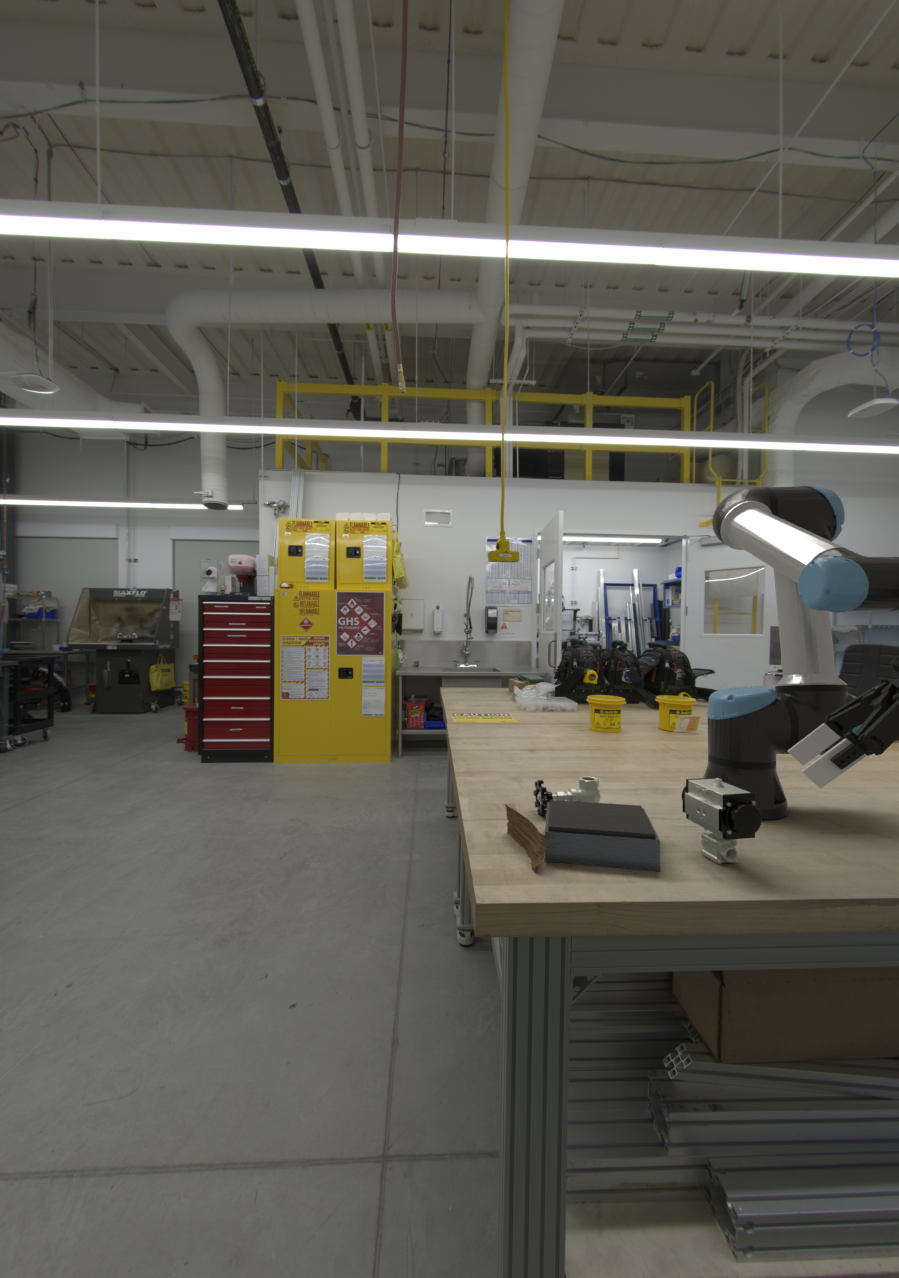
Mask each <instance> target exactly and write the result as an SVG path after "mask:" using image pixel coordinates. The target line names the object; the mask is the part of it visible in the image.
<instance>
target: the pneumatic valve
mask: <svg viewBox="0 0 899 1278" xmlns="http://www.w3.org/2000/svg"><path fill="white" fill-rule="evenodd" d="M681 800H682V812H683V813H685V816H686V817H685V818H686V819H687V820H689V821H691V822H692V823H693V824H694V823H695V824H696V825H698V826H699V827H701V828H703V829H704V831H709V832H710V833H707V832H702V833H701V839H700V843H701V846H702V848H703V849H701V854H702V856H703V857H706V858H707V859H709V860H710V861H712V862H714V864H717V865H721V864H723V863H732V864H735V863H738V858H739V857H738V856H739V851H738V850H737V847H736V846H738V842H737V841H738V840H742V839H743V840H745V839H755V838H756V833H757V832H758V831H759V830H760V828H761V825H762V819H761V814H760V812H759V810H758V809H757V808H756V807H755V804H756V802H755V794H753V793H750V792H748V791H745V790H742V789H740V788H737V787H735V786H732V785H730V784H727V783H724V782H722V779H720V778H715V779H714V778H703V777H702V778H686V779H685V785H684V786H683V789H682V791H681Z"/></svg>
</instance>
